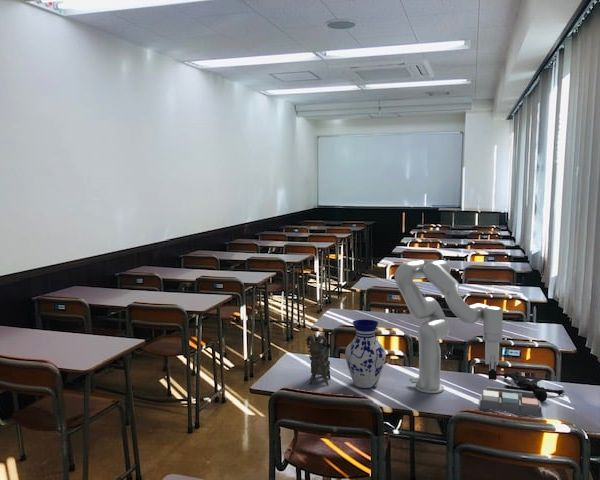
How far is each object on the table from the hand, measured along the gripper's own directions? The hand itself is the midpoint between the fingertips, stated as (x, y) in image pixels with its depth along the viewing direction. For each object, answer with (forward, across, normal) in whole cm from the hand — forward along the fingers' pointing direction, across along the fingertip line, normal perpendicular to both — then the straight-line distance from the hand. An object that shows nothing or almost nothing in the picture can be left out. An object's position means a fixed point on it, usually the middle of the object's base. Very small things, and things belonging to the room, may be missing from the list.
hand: (492, 379), depth 214 cm
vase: (+11, -7, -56) cm, 58 cm away
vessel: (+11, -4, -78) cm, 79 cm away
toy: (+12, -24, +14) cm, 30 cm away
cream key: (+9, 0, -1) cm, 9 cm away
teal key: (+9, 0, +7) cm, 12 cm away
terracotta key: (+11, 0, +14) cm, 18 cm away
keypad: (+12, -2, +7) cm, 14 cm away
